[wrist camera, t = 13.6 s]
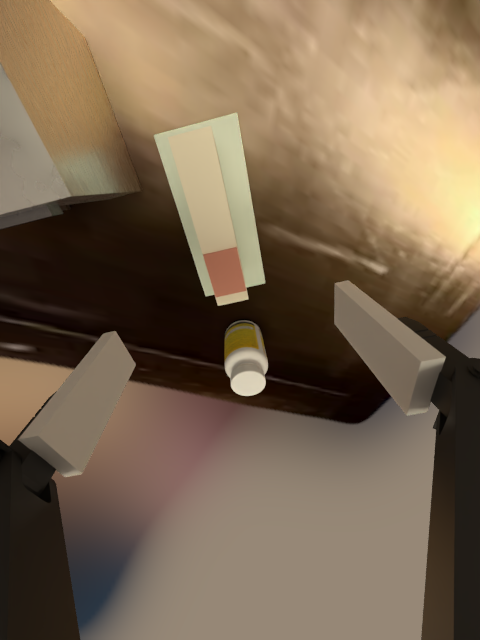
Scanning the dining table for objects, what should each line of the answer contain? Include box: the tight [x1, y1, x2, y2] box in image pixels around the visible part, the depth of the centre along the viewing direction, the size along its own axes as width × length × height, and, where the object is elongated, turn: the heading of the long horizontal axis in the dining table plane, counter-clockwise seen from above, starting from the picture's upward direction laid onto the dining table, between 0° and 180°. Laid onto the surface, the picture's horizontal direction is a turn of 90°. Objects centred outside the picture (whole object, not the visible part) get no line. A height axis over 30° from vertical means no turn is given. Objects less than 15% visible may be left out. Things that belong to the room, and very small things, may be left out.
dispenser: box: [0, 0, 143, 230], centre depth 16 cm, size 12×12×13 cm
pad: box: [154, 113, 265, 296], centre depth 26 cm, size 17×8×1 cm, turn 12°
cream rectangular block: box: [168, 126, 248, 306], centre depth 22 cm, size 13×3×8 cm, turn 12°
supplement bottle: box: [225, 320, 268, 396], centre depth 30 cm, size 5×5×10 cm
